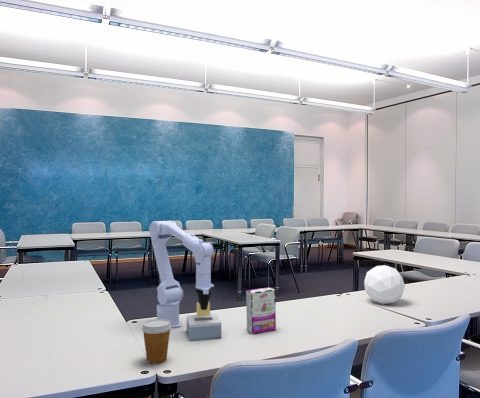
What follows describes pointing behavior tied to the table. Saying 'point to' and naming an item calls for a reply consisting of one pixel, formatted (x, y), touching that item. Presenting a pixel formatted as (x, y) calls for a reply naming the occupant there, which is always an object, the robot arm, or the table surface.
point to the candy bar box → (260, 310)
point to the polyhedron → (384, 284)
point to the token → (203, 312)
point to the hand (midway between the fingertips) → (203, 308)
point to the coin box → (203, 327)
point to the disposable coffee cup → (156, 339)
